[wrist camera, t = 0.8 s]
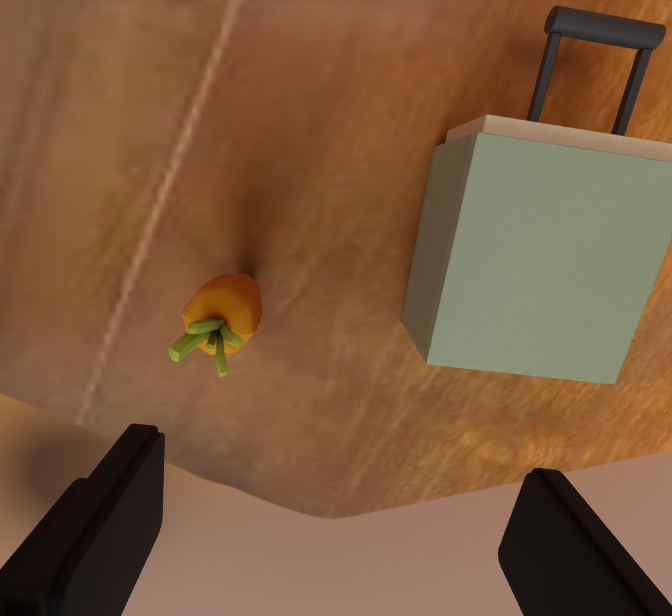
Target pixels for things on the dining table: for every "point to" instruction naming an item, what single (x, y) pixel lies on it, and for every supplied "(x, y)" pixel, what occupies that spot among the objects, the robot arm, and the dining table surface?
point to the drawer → (556, 25)
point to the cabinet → (535, 256)
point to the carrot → (220, 318)
